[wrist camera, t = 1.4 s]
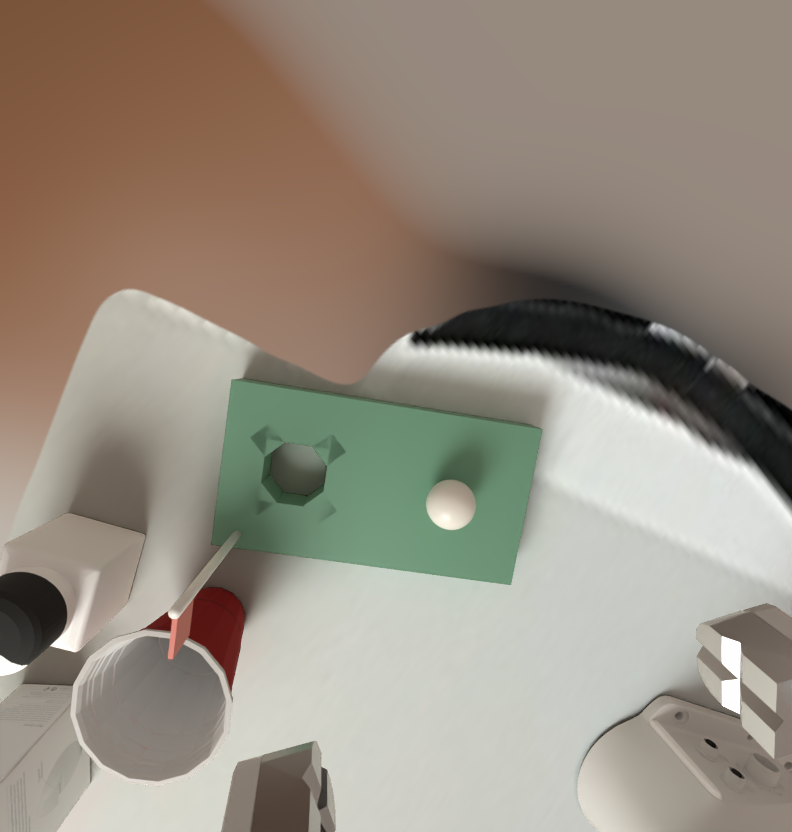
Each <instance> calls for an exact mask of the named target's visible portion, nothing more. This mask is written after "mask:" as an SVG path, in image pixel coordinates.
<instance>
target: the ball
mask: <svg viewBox="0 0 792 832" xmlns="http://www.w3.org/2000/svg"><path fill="white" fill-rule="evenodd" d="M426 508H427V512H428V515H429V517H430V518H431V520H432V521H433V522H434V523H435V524H436V525H437V526H439V527H441V528H443V529H447V530H457V529H460V528H462V527H464V526H466V525H467V524H468V523H469V522H470V521H471V520H472V518H473V516H474V514H475V510H476V500H475V497H474V494H473V492H472V491H471V489H470V488H469V487H468V486H467V485H465V484H464V483H462V482H460V481H457V480H451V479H450V480H444V481H441V482H439V483H437V484H436V485H434V486H433V487H432V489H431V490H430V492H429V493H428V496H427V500H426Z"/></svg>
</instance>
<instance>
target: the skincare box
mask: <svg viewBox="0 0 792 832" xmlns="http://www.w3.org/2000/svg"><path fill="white" fill-rule="evenodd" d="M72 692H73V686H68V685H41V684H22V685H20V686H19V687H18V688H17V689H16V690H15V691H14V692H13V693H11V694H10V695H9V696H8V697H7V698H6V699H5V700H4V701H3V702H1V703H0V832H56V831H57V830H58V828H59V827H60V826H61V824H62V823H63V821H64V820H65V818H66V817H67V815H68V814H69V812H70V811H71V810H72V808H73V807H74V805H75V804H76V803H77V801H78V800H79V798H80V797H81V796H82V794H83V793H84V791H85V790H86V789H87V787H88V786H89V785H90V783H91V782H90V756H89V755H88V754H87V752H86V751H85V750H84V749H83V748H82V747H81V745H80V744H79V741H78V738H77V735H76V731H75V728H74V725H73V722H72V719H71V716H70V712H71V702H72Z"/></svg>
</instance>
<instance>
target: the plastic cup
mask: <svg viewBox="0 0 792 832" xmlns="http://www.w3.org/2000/svg"><path fill="white" fill-rule="evenodd" d="M244 614H245V613H244V610H243V607H242V604H241V602H240V601H239V600H238V599H237V597H236V596H235V595H234V594H233V593H231V592H229V591H227V590H225V589H223V588H215V587H209V588H205V589H201V590H199V592H198V593H197V594H196V596H195V597H194V601H193V609H192V617H191V626H190V634H189V636H188V638H187V639H186V641H185V642H184V644H183V645H182V647H181V648H180V650H179V651H178V653H177V654H176V656H175V657H174V659H173V660H172V659H168V651H169V643H170V634H171V625H172V619H171V618H170V617H169V616H168V612H166V613H165V614H164V615H162V616H161V617H160V618H158V619H157V620H155V621H154V622H153V623H151V624H150V625H149V626H147V627H146V628H144V629H141V630H140V631H137V632H133V633H130V634H126V635H122V636H119V637H116V638H113V639H112V640H111V641H109V642H108V643H107V644H105V645H104V646H103V647H101V648H100V649H99V650H98V651H96V652H95V653H94V654H92V655H91V656H90V657H88V659H87V661H86V663H85V664H84V666H83V668H82V670H81V672H80V673H79V675H78V677H77V679H76V680H75V682H74V684H73V692H72V702H71V712H70V716H71V719H72V722H73V725H74V728H75V731H76V735H77V738H78V741H79V744H80V745H81V747H82V748H83V749H84V750H85V751H86V752H87V754H88V755H89V756H90V757H91V758H92V760H93V761H94V762H95V763H96V764H97V765H98V767H99V768H101V769H103V770H104V771H106V772H108V773H110V774H112V775H114V776H116V777H118V778H120V779H121V780H123V781H125V782H127V783H134V784H143V785H152V786H162V785H165V784H169V783H173V782H177V781H180V780H184V779H188V778H190V777H191V776H193V775H194V774H195V773H196V772H198V771H199V770H200V769H202V768H203V767H204V766H206V765H207V764H208V763H210V762H211V761H212V760H214V758H215V756H216V755H217V753H218V751H219V749H220V748H221V746H222V744H223V742H224V741H225V739H226V737H227V735H228V734H229V728H230V720H231V711H232V702H233V697H232V694H231V692H232V685H233V680H234V676H235V671H236V667H237V662H238V658H239V653H240V648H241V639H242V634H243V630H244V620H245V616H244Z"/></svg>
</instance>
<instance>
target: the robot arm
mask: <svg viewBox="0 0 792 832" xmlns="http://www.w3.org/2000/svg"><path fill="white" fill-rule="evenodd" d="M696 639H697V640H698V641H699V642H700V643H701V644H702V645H703V647H702V648H701V650H700V652H699V653H698V655H697V665H698V671H699V673H700V675H701V678H702V680H703V682H704V684H705V685H706V687H707V688H708V690H709V691H710V693H711V694H712V695H713V696H714V697H715V698H716V699H717V701H718V702H719V703H720V704H721V705H722V706H724V707H726V708H728V709H730V710H733V711H735V712H737V713H739V714H740V719H738V718H735V717H732V716H729V715H726V714H723V713H720V712H717V711H714V710H711V709H708V708H705V707H701V706H698V705H695V704H692V703H689V702H686V701H683V700H680V699H677V698H674V697H671V696H661V697H659V698H657V699H655V700H654V701H653V702H652V703H651V704H650V705H649V706H648V707H647V708H646V709H645V710H644V711H643V712H642V713H641V714H640V715H638V716H636V717H635V718H633V719H631V720H628V721H626V722H624V723H622V724H620V725H618V726H616V727H614V728H613V729H611V730H610V731H608V732H607V733H606V734H605V735H603V736H602V737H601V738H600V739H599V740H598V741H597V742H596V743H595V744H594V746H593V747H592V748H591V750H590V751H589V752H588V754H587V756H586V758H585V759H584V761H583V764H582V766H581V769H580V773H579V777H578V786H577V790H578V799H579V803H580V806H581V809H582V811H583V813H584V815H585V817H586V818H587V820H588V821H589V822H590V823H591V825H592V826H593V827H594V828H595V829H596V831H597V832H792V617H790V616H789V615H787V614H786V613H784V612H783V611H781V610H780V609H779V608H777V607H775V606H773V605H770V604H767V603H766V604H762V605H759V606H756V607H753V608H749V609H746V610H743V611H738V612H735V613H732V614H729V615H725V616H722V617H719V618H716V619H713V620H710V621H707V622H704V623H700V624H699V626H698V627H697V629H696ZM335 830H336V821H335V804H334V795H333V789H332V785H331V780H330V777H329V774H328V771H327V770H326V769H325V768H323V767H321V751H320V748H319V746H318V743H317V741H313V742H309V743H305V744H302V745H298V746H294V747H291V748H287V749H283V750H280V751H276V752H272V753H269V754H265V755H262V756H259V757H255V758H251V759H248V760H244V761H241V762H238V764H237V766H236V768H235V770H234V772H233V776H232V781H231V786H230V791H229V796H228V801H227V806H226V811H225V816H224V821H223V826H222V830H221V832H335Z"/></svg>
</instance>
